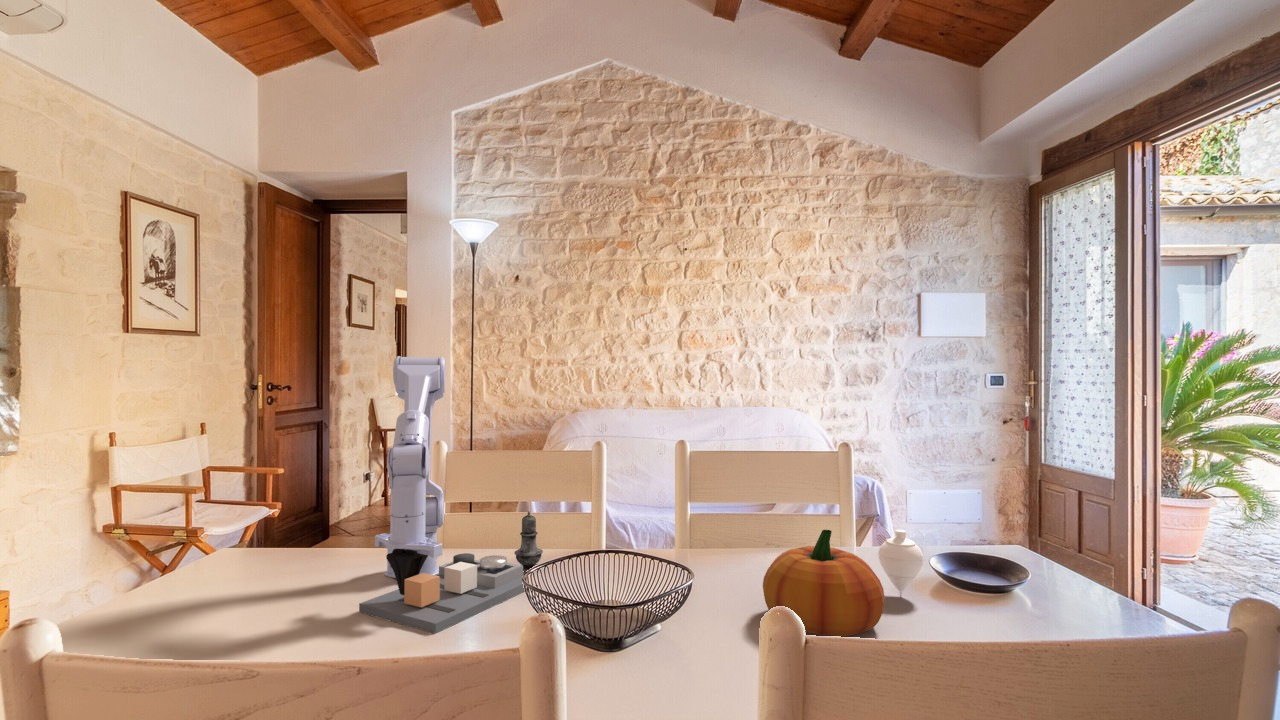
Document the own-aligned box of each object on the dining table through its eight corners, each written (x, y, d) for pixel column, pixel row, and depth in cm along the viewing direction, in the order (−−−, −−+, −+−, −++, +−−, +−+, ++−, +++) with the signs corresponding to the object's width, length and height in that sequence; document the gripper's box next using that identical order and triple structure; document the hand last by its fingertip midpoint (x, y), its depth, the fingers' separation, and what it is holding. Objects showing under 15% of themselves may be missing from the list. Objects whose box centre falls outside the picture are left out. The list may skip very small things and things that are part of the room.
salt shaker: (536, 574, 128) (537, 514, 128) (509, 572, 129) (510, 513, 130) (546, 565, 134) (547, 508, 134) (520, 563, 135) (521, 507, 135)
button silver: (474, 568, 120) (474, 560, 120) (492, 561, 124) (492, 554, 124) (494, 572, 117) (494, 564, 117) (511, 565, 122) (512, 557, 122)
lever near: (404, 603, 106) (404, 579, 106) (422, 595, 110) (423, 572, 110) (421, 607, 104) (421, 583, 105) (439, 599, 108) (439, 576, 108)
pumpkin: (739, 613, 107) (738, 525, 108) (821, 594, 117) (820, 513, 117) (823, 658, 91) (822, 553, 91) (911, 631, 100) (910, 536, 100)
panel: (359, 612, 107) (359, 591, 107) (468, 570, 130) (468, 553, 130) (435, 633, 99) (436, 610, 99) (538, 584, 122) (538, 566, 122)
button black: (448, 564, 123) (448, 557, 123) (463, 559, 127) (463, 552, 127) (464, 567, 121) (464, 560, 121) (478, 562, 125) (478, 555, 125)
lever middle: (444, 590, 113) (444, 567, 113) (460, 583, 116) (460, 561, 117) (460, 593, 111) (461, 570, 111) (476, 587, 115) (477, 564, 115)
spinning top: (924, 592, 118) (923, 528, 118) (923, 606, 111) (923, 537, 111) (880, 586, 121) (879, 523, 121) (877, 599, 114) (876, 532, 114)
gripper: (360, 513, 109) (359, 593, 109) (419, 523, 102) (418, 608, 102) (393, 506, 115) (392, 581, 115) (452, 515, 108) (451, 594, 108)
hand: (407, 593), depth 109 cm, fingers closed
